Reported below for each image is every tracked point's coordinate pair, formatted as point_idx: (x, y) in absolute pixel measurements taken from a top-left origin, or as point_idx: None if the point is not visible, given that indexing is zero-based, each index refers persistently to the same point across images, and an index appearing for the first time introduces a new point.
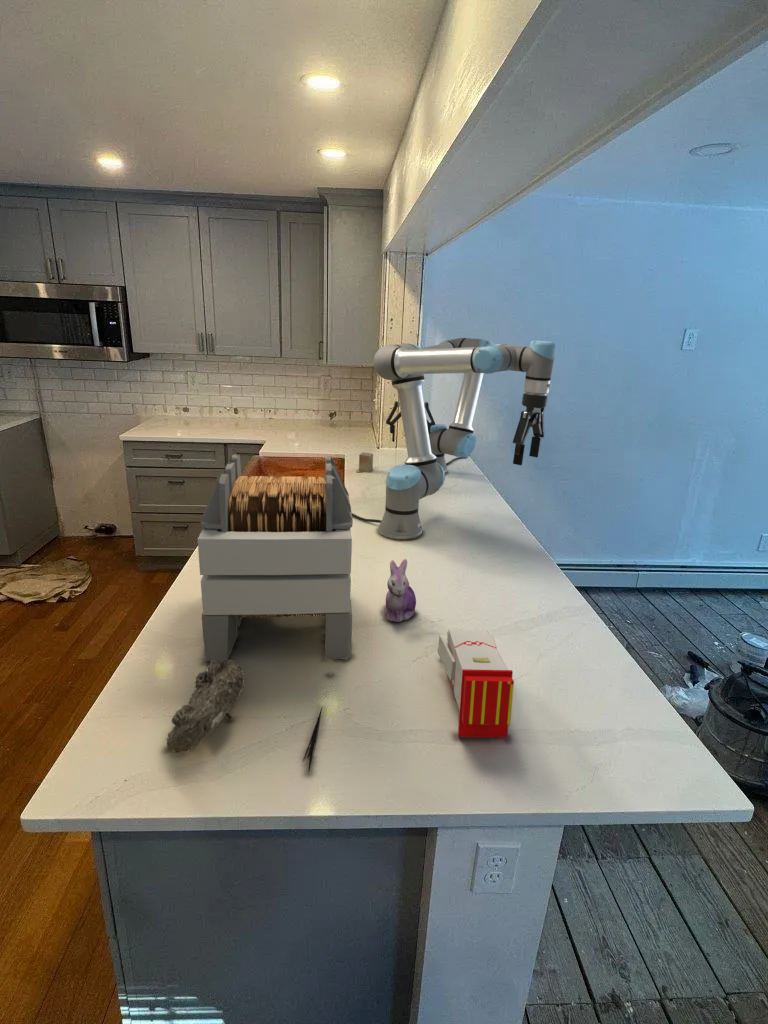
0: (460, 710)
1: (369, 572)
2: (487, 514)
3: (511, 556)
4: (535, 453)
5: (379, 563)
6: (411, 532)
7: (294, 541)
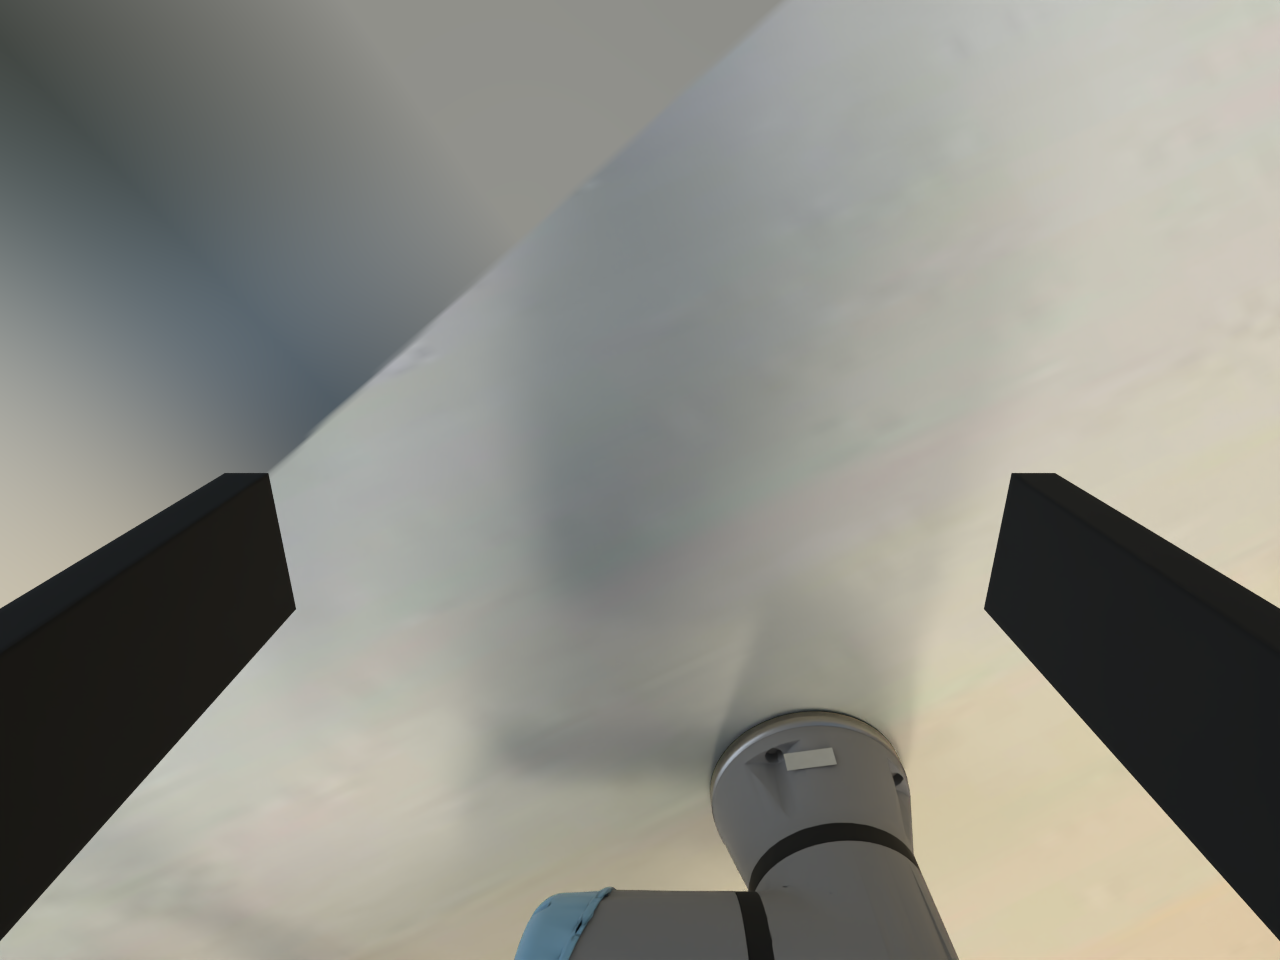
0: None
1: None
2: None
3: (753, 275)
4: (236, 542)
5: None
6: (867, 746)
7: None
